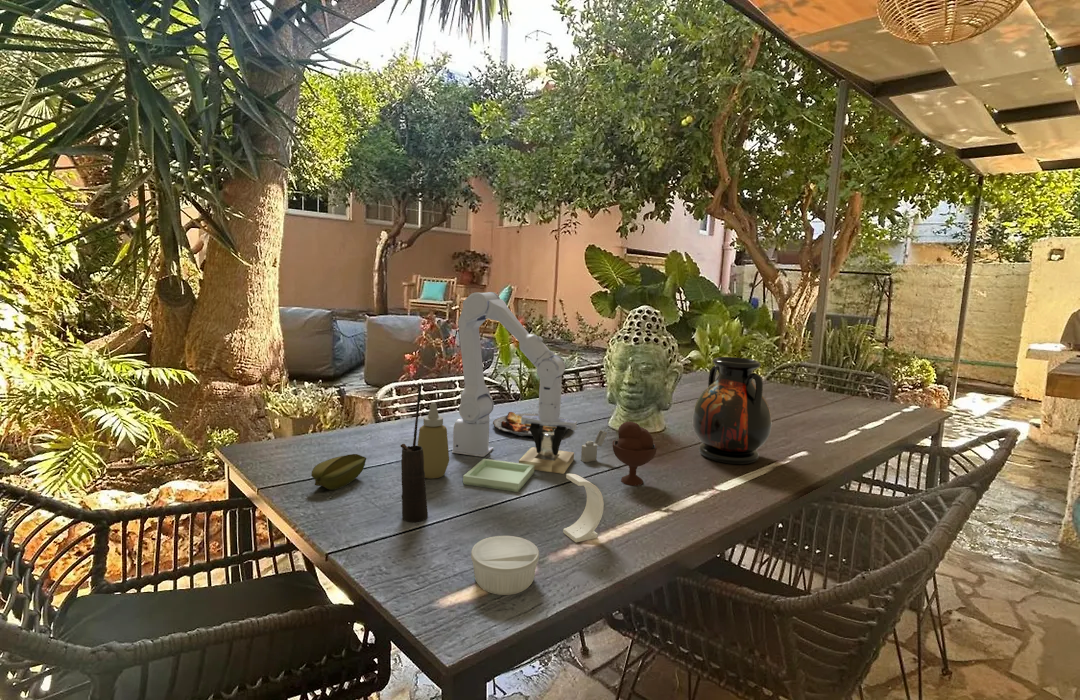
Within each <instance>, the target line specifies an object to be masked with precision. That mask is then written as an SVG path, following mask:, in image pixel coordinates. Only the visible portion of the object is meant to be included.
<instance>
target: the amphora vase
mask: <svg viewBox="0 0 1080 700" xmlns="http://www.w3.org/2000/svg"><path fill="white" fill-rule="evenodd" d="M712 363H713V364H714V366H712V367H711V369H710V371H709V375H708V383H707V384H708V386H707V387H706V389H704V391H702V392H701V394H700V395H699V396H698V398H697V399H696V402H695V405H694V408H693V411H692V415H691V416H692V417H691V419H692V420H691V423H692V424H691V425H692V428H693V432H694V433H695V436H696V437H697V438H698V440H699V441H700V442H701V443H700V445H699V446H698V451H699V453H700V454H701V455H702V456H703V457H705V458H707V459H709V460H712V461H715V462H719V463H721V464H722V463H723V464H728V465H729V464H730V465H748V464H752V463H754V462H756V461H757V460H759V458H760V457H759V456H760V454H759V452H758V449H760V448H761V447H762V446H764V445H765V443H767V441H768V439H769V438H770V435H771V432H772V425H773V422H772V412H771V409H770V406H769V403H768V401H767V399H766V398H765V396H764V395H763V393H764V392H763V391H764V382H763V379H762V377H761V375H759V374H758V373H755V372H754V370H755V369H759V368H760V367H761V365H762V364H761V362H759V361H758V360H754V359H752V358H751V359H750V358H745V357H743V358H742V357H736V356H735V357H734V356H719V357H715V358H713V359H712ZM717 372H718V377H717V378H716V375H717ZM753 372H754V373H753ZM754 382H755V383H754Z"/></svg>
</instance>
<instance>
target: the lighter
mask: <svg viewBox="0 0 1080 700" xmlns="http://www.w3.org/2000/svg"><path fill="white" fill-rule="evenodd" d="M607 434H608V433H607V431H604V430H603V429H599V431H598V433H597V435H596V438H595V441H593V440H589V441H588V440H587V441H586V442H585V443H584V444H582V445H581V455H580V461H581V462H582V463H583V462H584V463H587V462H588V463H589V462H595V461H597V457H598V447H602V445H603V443H604V442H605V439H606V437H607Z"/></svg>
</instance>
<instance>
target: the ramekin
mask: <svg viewBox="0 0 1080 700" xmlns="http://www.w3.org/2000/svg"><path fill="white" fill-rule="evenodd" d="M470 559H471V561H472V567H473V573H474V579H475V581H476V582H475V583H477V585H478V586H479V587H480V588H481V589H482V590H484V591H485V592H488V593H491V594H493V595H498V596H511V595H516V594H520V593H522V592H524V591H525V590H527V589H528V588H529V587H530V586H531V584H532V583H533V581H534V579H535V574H536V568H537V564H538V562H539V559H540V551H539V548H538V546H537V545H535V543H534V542H532V541H530V540H529V539H525V538H523V537H519V536H513V535H496V536H495V535H494V536H490V537H486V538H483V539H481V540H479V541H478V542H476V543H475V544H474V545H473V547H472V548H471V552H470Z"/></svg>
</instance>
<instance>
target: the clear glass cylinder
mask: <svg viewBox="0 0 1080 700" xmlns="http://www.w3.org/2000/svg"><path fill="white" fill-rule="evenodd" d="M554 444H555V439H554V433H551V432H543V433H541V438H540V459H545V460H553V461H555V455H554Z"/></svg>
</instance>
